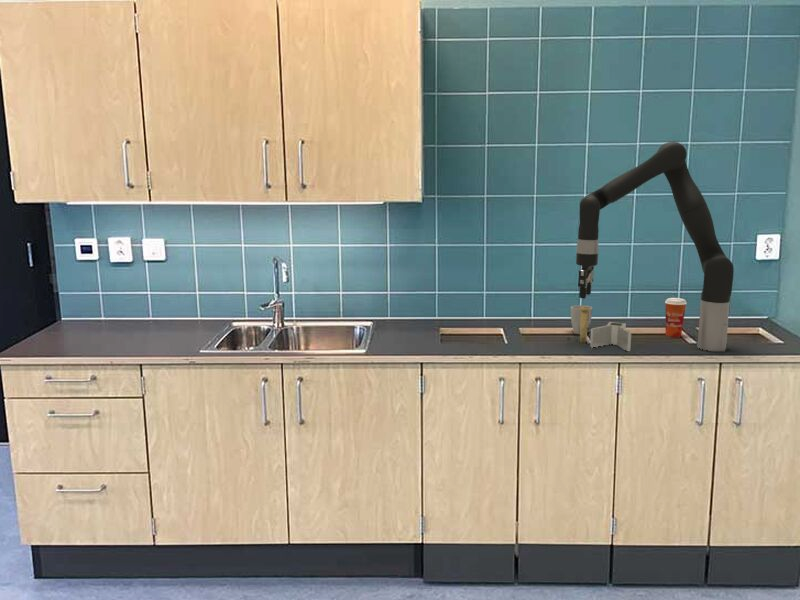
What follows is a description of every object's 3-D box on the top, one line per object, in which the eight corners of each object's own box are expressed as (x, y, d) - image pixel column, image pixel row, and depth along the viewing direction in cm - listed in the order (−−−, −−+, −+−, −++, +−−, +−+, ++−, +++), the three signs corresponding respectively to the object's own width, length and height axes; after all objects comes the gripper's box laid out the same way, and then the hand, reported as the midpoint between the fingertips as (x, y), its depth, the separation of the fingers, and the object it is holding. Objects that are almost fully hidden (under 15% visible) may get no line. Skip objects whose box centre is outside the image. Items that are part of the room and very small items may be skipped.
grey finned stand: (636, 343, 262) (637, 324, 261) (629, 352, 250) (631, 332, 248) (597, 339, 268) (598, 320, 267) (589, 348, 256) (590, 328, 254)
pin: (588, 341, 266) (590, 306, 263) (586, 343, 263) (588, 308, 260) (579, 340, 267) (580, 305, 265) (577, 342, 264) (578, 307, 262)
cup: (586, 336, 273) (587, 310, 272) (566, 333, 278) (567, 307, 276) (594, 332, 280) (595, 306, 278) (574, 329, 285) (575, 304, 283)
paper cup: (661, 336, 272) (663, 300, 269) (664, 332, 279) (666, 296, 276) (683, 338, 268) (685, 302, 266) (685, 334, 275) (688, 298, 273)
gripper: (593, 254, 251) (591, 300, 254) (601, 250, 263) (599, 293, 266) (572, 253, 254) (570, 298, 257) (581, 249, 267) (579, 292, 270)
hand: (585, 296), depth 262 cm, fingers open, 8 cm apart
